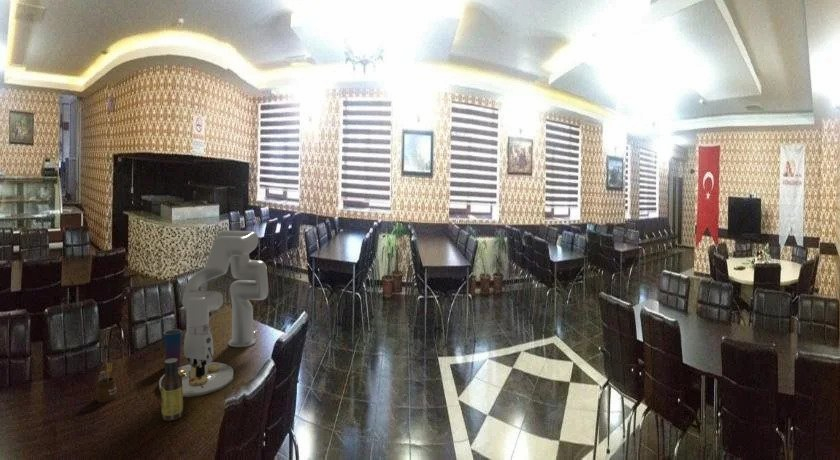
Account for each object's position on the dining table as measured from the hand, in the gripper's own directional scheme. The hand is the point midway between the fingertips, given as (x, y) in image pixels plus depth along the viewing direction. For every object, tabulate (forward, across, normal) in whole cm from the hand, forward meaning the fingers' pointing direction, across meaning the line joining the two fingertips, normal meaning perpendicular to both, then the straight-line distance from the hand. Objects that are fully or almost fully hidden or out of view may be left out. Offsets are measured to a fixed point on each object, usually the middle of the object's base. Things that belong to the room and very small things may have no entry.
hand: (198, 375), depth 163 cm
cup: (+6, +25, -13) cm, 29 cm away
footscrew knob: (+3, 0, 0) cm, 3 cm away
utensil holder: (+6, +24, +17) cm, 30 cm away
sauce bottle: (+6, -7, +19) cm, 21 cm away
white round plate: (+5, +5, -5) cm, 9 cm away
